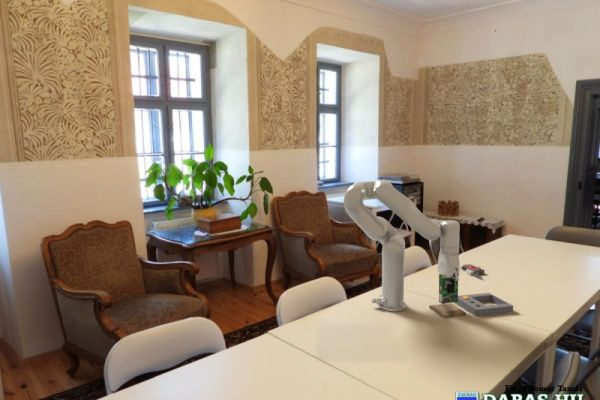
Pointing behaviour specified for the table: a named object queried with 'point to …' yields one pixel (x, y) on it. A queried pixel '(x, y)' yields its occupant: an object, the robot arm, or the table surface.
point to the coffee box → (443, 294)
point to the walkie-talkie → (473, 270)
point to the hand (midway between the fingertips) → (448, 290)
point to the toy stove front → (479, 309)
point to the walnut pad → (447, 310)
